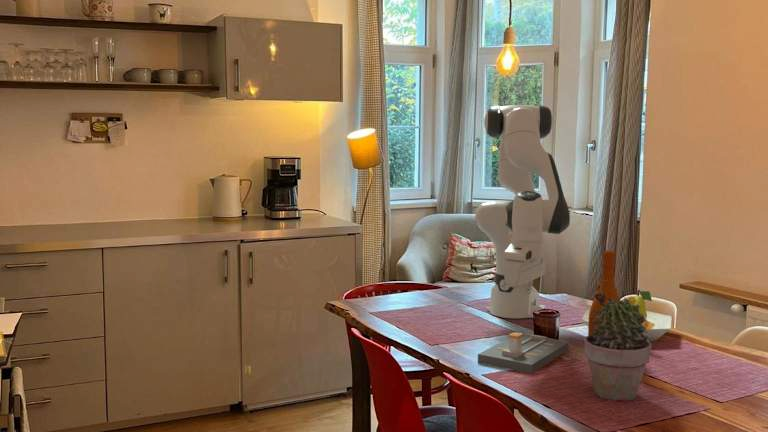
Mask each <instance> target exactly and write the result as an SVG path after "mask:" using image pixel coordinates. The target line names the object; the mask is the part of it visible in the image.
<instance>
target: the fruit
mask: <svg viewBox="0 0 768 432" xmlns="http://www.w3.org/2000/svg"><path fill="white" fill-rule="evenodd" d="M627 299H628V300H629V302H630V304H631V305H637V304H638V305H639V306H640V307H639V312H640V313H641V314H643V315H644V318H645V320H646V321H644V322H643V324H642V325H643V326H644V327H645V328H646V330H645V332H643V333H642V334H643V335H644V336H648V337H647V338H650V339H647V340H648V341H649V342H653V341H654V342H656V341H658V340H659V339H660V337H662V336H663V335H664V334H666V333H667V332H669V331H670V330H671V328H672V316H671V315H666V314H663V313H657V312H654V311H648V310H646V302H645V300H646V301H649V302H652V301H653V300H652V296H651V292H650V291H645V290H643V291H641V290H640V289H637V292H636V295H635V296H629V297H628V298H627ZM590 309H591V308H587V309H586V311H585V313H584V314H583V317H582V318H581V321H582V322H583V324H585V326H587V327H588V325H589V319H587V318H589V313H590ZM645 316H646V317H645ZM647 321H649V322H647ZM587 322H588V323H587ZM650 322H651V323H650ZM657 325H658V326H657ZM646 332H647V333H646ZM654 339H655V340H654Z"/></svg>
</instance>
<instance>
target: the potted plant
mask: <svg viewBox="0 0 768 432" xmlns="http://www.w3.org/2000/svg"><path fill="white" fill-rule="evenodd" d="M607 294H608V292H607V293H606V295H607ZM609 294H610V293H609ZM594 295H595V296H594V298H596V301H598V302H599V304H600V305H602V306H603V308H602V310H598V309H596V310H593V311H595V312H596V313H597V316H596V317H595V318H596V320H593V321H592V322H593V323H594V324H596V325H595V326H596V327H595V326H592V327H593V328H594V327H595V329H592V330H591V331H592V333H593V334H592V335H589V336H587V335H586V337H584V340H583V342H584V355H585V357H586V358H587V360H588V365H589V370H590V376H591V380H592V385H593V389H594V393H596V394H597V395H596V394H595V395H596V396H598V397H599V396H600V397H599V398H601V397H602V398H601V399H604V398H605V400H608V399H611V400H610V401H614V400H621V401H620V402H622V401H625V402H627V401H628V400H629V401H631V400H634V399H636V398H637V396H638V392H639V389H640V386H641V383H642V380H643V375H644V373H645V369H646V366H647V364H648V363H649V361H650V357H651V352H652V347H653V349H655V347H654V345H653V344H651V341H648V340H647V339H650V338H647V337H648V336H644V335H643V334H642V333H643V332H645V330H646V328H645V327H644V326H643V325H642V324H643V322H644V321H646V320H645V318H644V315H643V314H641V313H640V312H639V307H640V306H639V305H638V304H637V305H631V304H630V302H629V300H628V299H629V298H626V297H624V299H623V300H621V299H620V300H621V301H620V300H619V298H620V297H619V298H618V297H617V298H615V299H616V300H615V299H614V300H615V301H614V300H612V299H611V298H610V299H608V300H609V301H610V302H609V301H608V302H607V303H606V304H605V303H604V302H605V299H606V298H607V297H606V295H605V294H604V292H603V291H602V290H601V289H599V290H597V289H596V290H595V294H594ZM610 295H611V294H610ZM608 298H609V297H608ZM645 317H646V316H645ZM580 319H581V318H580ZM580 319H578V320H580ZM587 319H589V318H587ZM647 322H649V321H647ZM587 323H588V322H587ZM650 323H651V322H650ZM657 326H658V325H657ZM587 328H588V326H587ZM593 330H595V331H593ZM646 333H647V332H646ZM654 340H655V339H654ZM657 341H659V342H661V343H663V341H662V340H659V339H657ZM655 346H656V347H658V345H656V344H655Z"/></svg>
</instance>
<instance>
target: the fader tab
mask: <svg viewBox="0 0 768 432" xmlns="http://www.w3.org/2000/svg"><path fill="white" fill-rule="evenodd" d="M523 334H524V333H523ZM523 334H522V332H511V333H509V334H508V338H509V351H513V352H518V353H521V352H522V336H523Z"/></svg>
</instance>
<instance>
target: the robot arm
mask: <svg viewBox="0 0 768 432" xmlns="http://www.w3.org/2000/svg"><path fill="white" fill-rule="evenodd" d="M483 123H484V124H483V125H484V129H485V131H486V134H487V135H488V137H491V138H495V139H499V138H500V144H499V152H498V174H497V175H498V176H497V178H498V179H497V181H498V183H499V185H500V186H501V187H502V188H503V189H505V190H507V191H510V192H512V194H514V198H513V200H493V201H492V200H491V201H485V202H481V203H480V205H479V206H478V207H477V208H476V211H475V218H474V219H475V223H476V225H477V227H478V228H479V229H480V231H482V232H483V233H485V235H487V237H488V238H489V240H490V241H491V243H492V245H493V247H494V248H493V249H494V252H495V263H496V264H495V265H496V267H495V268H496V269H495V270H496V271H495V273H494V286H492V287H491V290H490V291H491V292H490V301H489V306H487V307H486V311H488V312H489V313H490V314H491V315H493V316H496V317H499V318H505V319H528V318H530V319H531V318H532V319H533V316H532V313H533V311H538V310H541V309H544V308H545V307H546V305H544V304H540V293H539V291H538V290H537V289H536V288H535V287H534V286H533V283H534V280H536V279H538V278H540V277H542V276H544V275H545V273H546V266H547V265H546V253H545V251H543V248H544V246H543V245H544V236H543V233H545V234H547V233H548V234H551V235H554V234H555V235H560V234H561V233H563V232H564V231H566V230H567V229H568V228H569V226H570V222H571V212H570V208H569V206H568V204H567V201H566V198H565V195H564V191H563V188H562V183H561V180H560V176H559V172H558V170H557V165H556V161H555V159H554V157H553V155H552V154H551V153H549V152H547V150H545V148H544V147H543V145H542V142H541V139H544V138H546V137H547V136H548V135H549V134H550V133H551V131H552V129H553V125H554V116H553V114H552V111H551V108H549V107H547V106H545V105H540V104H539V105H533V104H510V105H502V106H501V105H494V106H490V107H489V108H488V109H487V111H486V113H485V116H484V118H483ZM533 174H534V175H535V176H538V177H540V178H541V179H542V180H543V182H544V184H545V188H546V192H547V193H546V194H547V196H548V199H543V198H542V195H541V194H540V193H539V192H536V190H535V189H536V188H535V187H534V184H533Z"/></svg>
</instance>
